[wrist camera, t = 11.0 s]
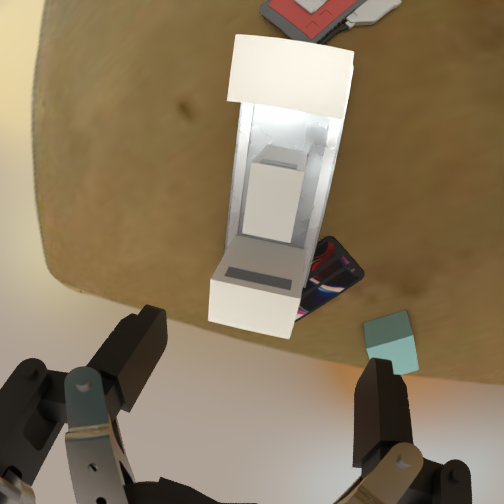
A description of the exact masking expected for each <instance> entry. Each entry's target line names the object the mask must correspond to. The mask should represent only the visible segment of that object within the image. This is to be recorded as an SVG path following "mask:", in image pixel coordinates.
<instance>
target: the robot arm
mask: <svg viewBox="0 0 504 504" xmlns="http://www.w3.org/2000/svg"><path fill="white" fill-rule="evenodd" d="M167 338H168V335H167V319H166V311H165V310H164V309H161V308H158V307H154V306H151V305H145V306H144V307H143V309H142V310H141V311H140V313H139V314H138V315H136V314H133V313H132V314H130V315H128V316H127V317H125V318H124V319H122V320H121V321H120V322H119V324H118V325H117V326H116V327H115V329H114V331H112V333H111V334H110V335H109V338H107V339H106V340H105V342H104V343H103V344H102V346H101V347H100V348H99V350H98V351H97V352H96V354H95V355H94V356H93V358H92V359H91V360H90V362H89V363H88V364H87V365H86V366H83V367H78V368H75V369H73V370H72V371H70V372H69V373H66V372H59V371H52V370H47V368H46V366H45V364H44V363H43V362H42V361H41V360H39V359H35V358H29V359H26V360H24V361H22V362H21V363H20V364H19V365H18V366H17V367H16V369H15V370H14V371H13V373H12V374H11V375H10V377H9V378H8V380H7V381H6V382H5V384H4V385H3V387H2V388H1V389H0V504H35V495H34V491H33V489H32V488H31V486H32V484H33V482H34V480H35V478H36V476H37V474H38V472H39V470H40V468H41V466H42V464H43V462H44V460H45V458H46V457H47V455H48V453H49V451H50V449H51V447H52V445H53V443H54V441H55V440H56V438H57V436H58V434H59V432H60V430H61V429H62V427H63V425H64V423H68V429H69V430H68V432H67V433H66V434H65V444H66V451H67V458H68V464H69V469H70V475H71V480H72V484H73V489H74V494H75V498H76V502H77V504H256V503H220V502H217V501H215V500H213V499H211V498H210V497H207V496H206V495H204V494H202V493H200V492H199V491H197V490H195V489H193V488H191V487H189V486H186V485H183V484H180V483H177V482H174V481H171V480H168V479H165V478H162V477H160V479H159V482H149V481H148V482H147V481H146V482H137V483H136V481H135V478H134V475H133V472H132V469H131V467H130V464H129V462H128V459H127V456H126V452H125V449H124V445H123V441H122V437H121V433H120V429H119V425H118V420H117V417H116V416H117V415H118V413H119V411H120V409H122V410H124V411H127V412H130V411H131V409H132V407H133V405H134V404H135V402H136V400H137V398H138V396H139V395H140V393H141V391H142V389H143V388H144V386H145V384H146V382H147V380H148V379H149V377H150V375H151V373H152V371H153V369H154V368H155V366H156V364H157V363H158V361H159V359H160V357H161V356H162V354H163V352H164V350H165V348H166V345H167ZM407 398H408V394H407V387H406V384H405V383H404V381H403V379H402V377H401V376H400V375H397V374H394V372H393V365H392V361H391V360H387V359H381V358H374V357H372V358H371V359H370V361H369V363H368V364H367V366H366V368H365V370H364V371H363V373H362V375H361V377H360V378H359V380H358V382H357V385H356V388H355V393H354V445H353V467H356V468H362V474H361V476H360V477H359V478H358V479H357V480H356V481H355V482H354V483H353V484H352V485H351V486H350V487H349V488H348V489H347V490H346V491H345V492H344V493H343V494H342V495H341V496H340V497H339V498H338V499H337V500H336V501H335V502H334V503H333V504H472V490H471V475H470V470H469V468H468V466H467V465H466V464H465V463H464V462H462V461H460V460H456V459H455V460H450V461H448V462H447V463H446V464H444V465H443V464H439V463H436V462H433V461H430V460H428V459H425V458H424V457H423V456H422V453H421V451H420V450H419V449H418V448H417V447H416V446H415V445H414V444H413V437H412V427H411V418H410V409H409V401H408V399H407Z"/></svg>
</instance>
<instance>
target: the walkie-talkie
mask: <svg viewBox="0 0 504 504" xmlns="http://www.w3.org/2000/svg"><path fill="white" fill-rule="evenodd" d="M401 3H402V1H401V0H267V1H266V2H264V4H263V5H260V14H261V15H262V16H263V17H264V18H265V19H266V20H268V21H269V22H270V23H272V24H273V25H274V26H275V27H277V28H278V29H279V30H280V31H282V32H283V33H284V34H285V35H287V36H288V37H289V38H290V39H292V40H296V41H303V42H309V43H315V44H320V45H324V44H325V43H326V42H327V41H328V40H329V39H331V38H332V37H333V36H334V35H335V34H337V33H338V32H340V31H344V30H346V29H349V30H350V29H351V28H352V27H353V26H360V25H373V24H375V23H376V22H377V21H378V20H379V19H381V18H382V17H383V16H384V15H386V14H387V13H388V12H389V11H391V10H392V9H396V8H397V7H398V6H399V5H400V4H401ZM344 21H345V25H344V26H342V27H340V25H341V24H343V23H344ZM337 27H338V28H337Z"/></svg>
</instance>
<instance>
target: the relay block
mask: <svg viewBox="0 0 504 504" xmlns="http://www.w3.org/2000/svg"><path fill="white" fill-rule="evenodd" d="M363 324H364V332H365V341H366V349H367V352H368V355H369V358H370V359H371V358H372V357H374V358H381V359H387V360H391V361H392V365H393V372H394V374H397V375H402V374H406V373H409V372H413V371H416V370H419V368H418V361H417V355H416V349H415V343H414V337H413V333H412V329H411V325H410V322H409V318H408V315H407V312H406V310H404V311H401V312H398V313H394V314H391V315H388V316H385V317H381V318H378V319H375V320H371V321H368V322H364V323H363Z"/></svg>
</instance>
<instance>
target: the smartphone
mask: <svg viewBox="0 0 504 504" xmlns="http://www.w3.org/2000/svg"><path fill="white" fill-rule="evenodd" d="M363 277H364V271H363V270H362V268H361V267H359V265H358V264H357V262H356V261H355V260H354V259H353V258H352V257H351V256H350V255H349V254H348V252H347V251H346V250H345V249H344V248H343V246H342V245H341V244H340V243H339V242H338V241H337V240H336V239H335V238H334V237H332V236H327V237H325V238H323V239H322V240H321V241H320V242H318V243H317V245H316V249H315V253H314V257H313V260H312V264H311V268H310V272H309V276H308V279H307V283H306V287H305V288H304V287H303V289H302V293H301V300H300V304H299V307H298V311H297V314H296V318H295V321H294V323H295V322H297V321H298V320H300V319H301V318H303V317H305V316H306V315H308V314H310V313H311V312H313V311H314V310H316V309H317V308H319V307H321V306H322V305H324V304H325V303H327V302H328V301H330V300H332V299H333V298H335V297H336V296H338V295H339V294H341V293H342V292H344V291H345V290H347V289H348V288H350V287H351V286H353V285H354V284H356V283H357V282H359V281H360V280H362V279H363Z"/></svg>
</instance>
